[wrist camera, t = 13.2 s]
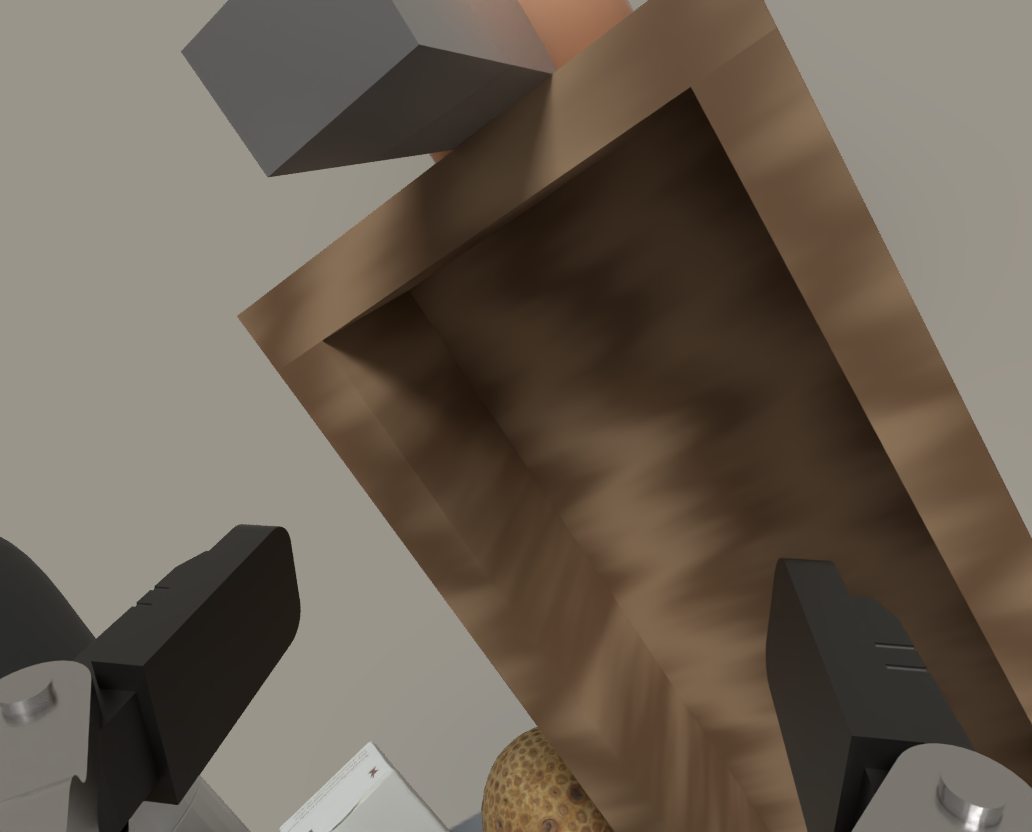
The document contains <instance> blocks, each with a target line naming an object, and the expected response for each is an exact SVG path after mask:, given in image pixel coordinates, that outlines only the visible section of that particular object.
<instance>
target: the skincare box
mask: <svg viewBox="0 0 1032 832" xmlns="http://www.w3.org/2000/svg"><path fill="white" fill-rule="evenodd" d="M279 832H450V831H449V830H448V829H447V827H446V826H445V825H444V824H443V822H442V821H441V820H440V819H439V818H438V817H437V816H436V814H435V813H434V812H433V811H432V810H431V809H430V808H429V806H428V805H427V804H426V803H425V802H424V801H423V799H422V798H421V797H420V796H419V795H418V794H417V792H416V791H415V790H414V789H413V788H412V787H411V785H409V783H408V782H407V781H406V780H405V778H404V777H403V776H402V775H401V774H400V772H398V770H396V768H395V767H394V766H393V765H392V764H391V762H390V761H389V760H388V758H387V757H386V756H385V755H384V753H383V752H382V751H381V750H380V749H379V747H378V746H377V745H376V744H375V743H374V742H372V741H370V742H368V743H367V744H366V745H365V746H364V747H363V748H362V749H361V750H360V751H359V752H358V753H357V754H356V755H355V756H354V757H353V758H352V759H351V760H350V761H349V762H348V763H347V764H345V765H344V766H343V767H342V768H341V769H340V770H339V771H338V772H337V773H336V774H335V775H334V776H333V777H332V778H331V779H330V780H329V781H328V782H327V783H326V784H325V785H324V786H323V787H322V788H321V789H320V790H318V791H317V792H316V793H315V794H314V795H313V796H312V797H311V798H310V799H309V800H308V801H307V802H306V803H305V804H304V805H303V806H302V807H301V808H300V809H299V810H298V811H297V812H296V813H295V814H294V815H292V816H291V818H289V819H288V820H287V821H286V822H285V823H284V824H283V825H282V826H281V827H280V828H279Z"/></svg>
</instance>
